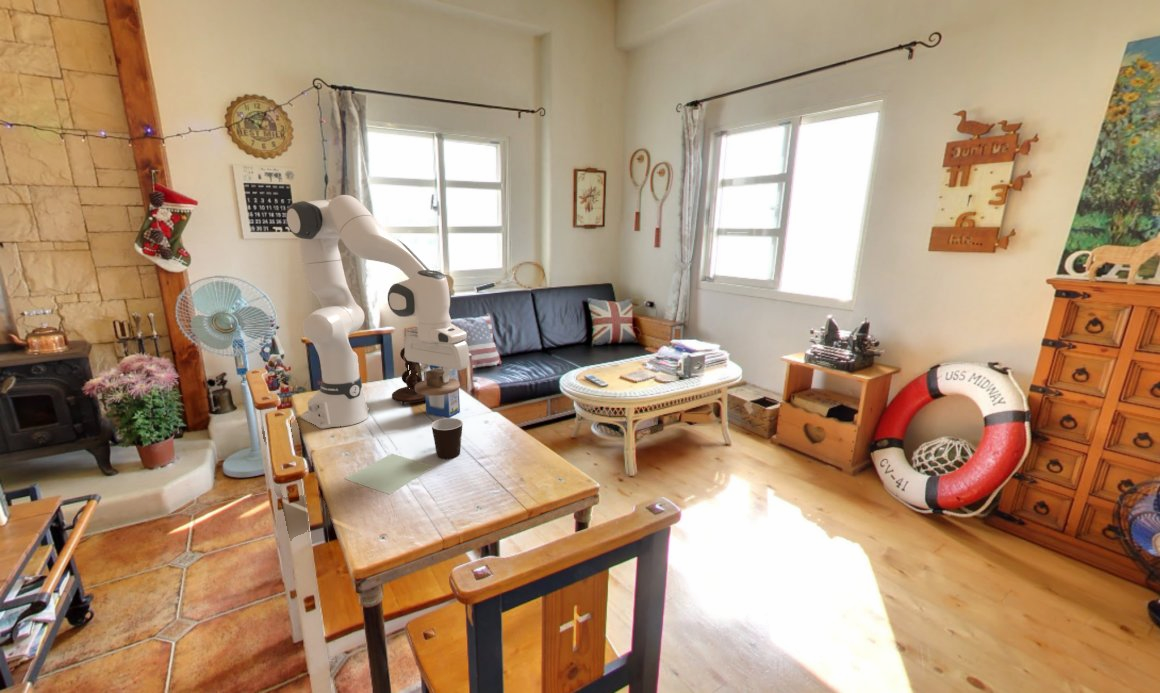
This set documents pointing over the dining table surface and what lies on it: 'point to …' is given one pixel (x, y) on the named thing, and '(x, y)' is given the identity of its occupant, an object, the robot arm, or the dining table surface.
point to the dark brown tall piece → (409, 383)
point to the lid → (436, 384)
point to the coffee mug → (447, 437)
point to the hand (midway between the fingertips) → (437, 380)
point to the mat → (389, 473)
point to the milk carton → (443, 400)
